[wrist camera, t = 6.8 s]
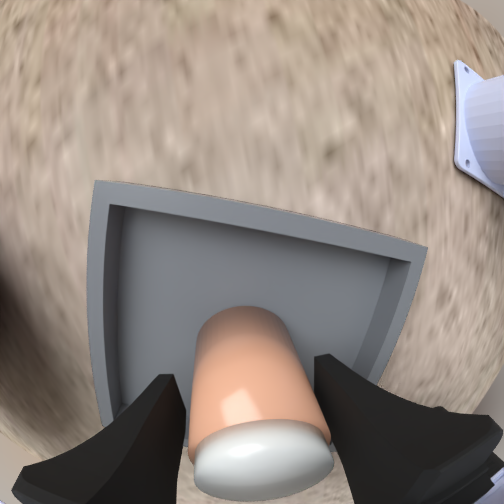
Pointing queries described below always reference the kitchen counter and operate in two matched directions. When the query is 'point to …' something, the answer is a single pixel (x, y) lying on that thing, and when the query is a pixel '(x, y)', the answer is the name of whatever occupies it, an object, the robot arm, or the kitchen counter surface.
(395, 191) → the kitchen counter surface
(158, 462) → the robot arm
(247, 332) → the shaker
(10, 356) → the kitchen counter surface
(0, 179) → the kitchen counter surface
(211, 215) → the tray
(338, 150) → the kitchen counter surface
